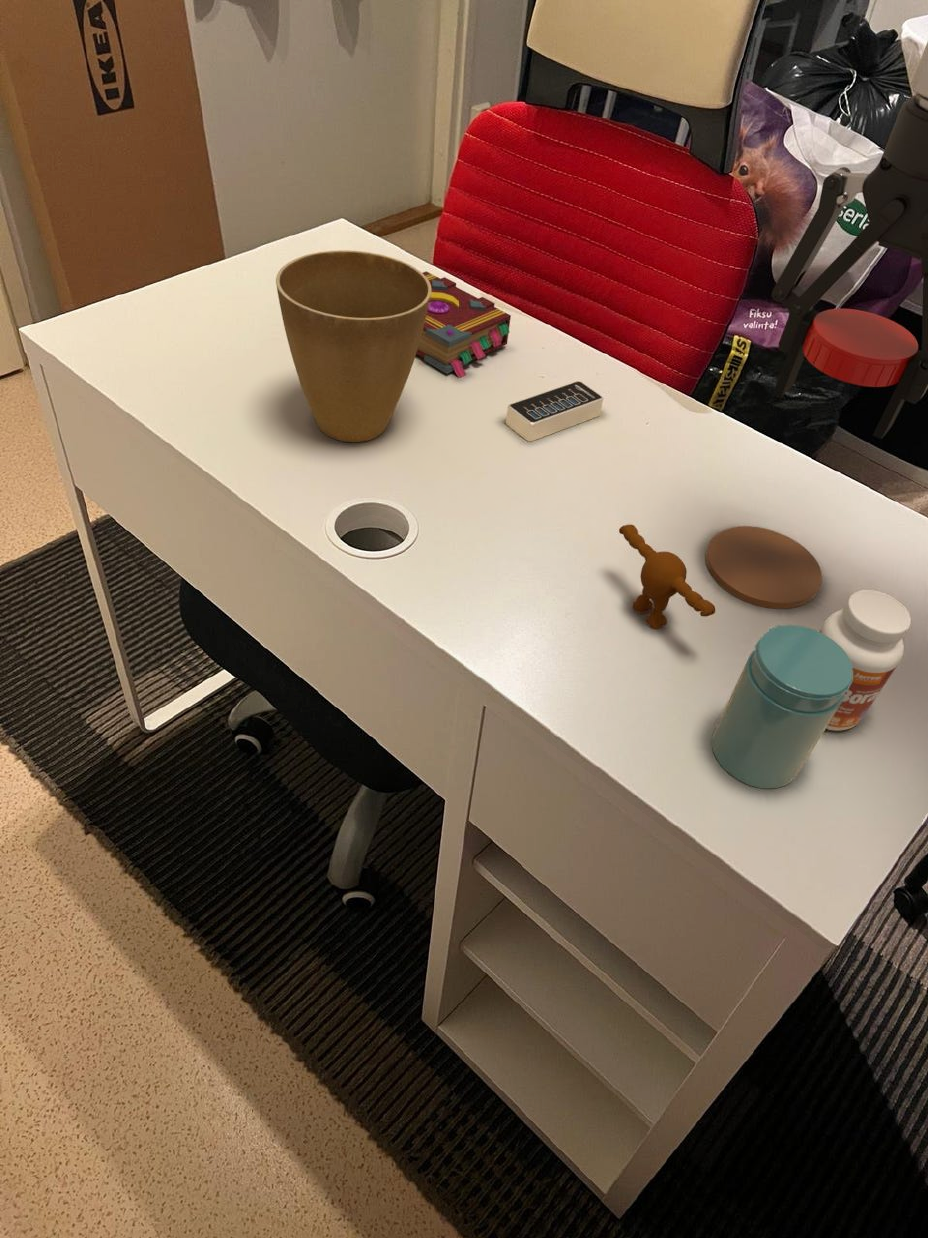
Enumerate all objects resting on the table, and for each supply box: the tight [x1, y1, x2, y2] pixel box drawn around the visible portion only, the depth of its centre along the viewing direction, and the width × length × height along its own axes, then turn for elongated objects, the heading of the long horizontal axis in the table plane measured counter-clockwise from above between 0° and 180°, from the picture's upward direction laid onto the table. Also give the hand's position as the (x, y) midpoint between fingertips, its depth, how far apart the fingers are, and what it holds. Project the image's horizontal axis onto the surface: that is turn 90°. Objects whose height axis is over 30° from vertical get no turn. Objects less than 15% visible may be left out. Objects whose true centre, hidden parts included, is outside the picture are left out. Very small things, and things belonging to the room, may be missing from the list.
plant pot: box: [275, 249, 432, 443], centre depth 92 cm, size 15×15×16 cm
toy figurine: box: [618, 524, 716, 629], centre depth 79 cm, size 12×4×7 cm, turn 29°
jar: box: [711, 624, 853, 790], centre depth 67 cm, size 7×7×11 cm
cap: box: [803, 308, 919, 388], centre depth 71 cm, size 8×8×2 cm
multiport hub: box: [505, 380, 604, 442], centre depth 102 cm, size 4×11×2 cm, turn 127°
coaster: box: [704, 525, 823, 610], centre depth 87 cm, size 11×11×1 cm
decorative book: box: [416, 270, 512, 379], centre depth 111 cm, size 11×16×5 cm
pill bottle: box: [819, 589, 912, 732], centre depth 72 cm, size 6×6×11 cm
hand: (831, 409), depth 75 cm, fingers closed on cap, 8 cm apart
